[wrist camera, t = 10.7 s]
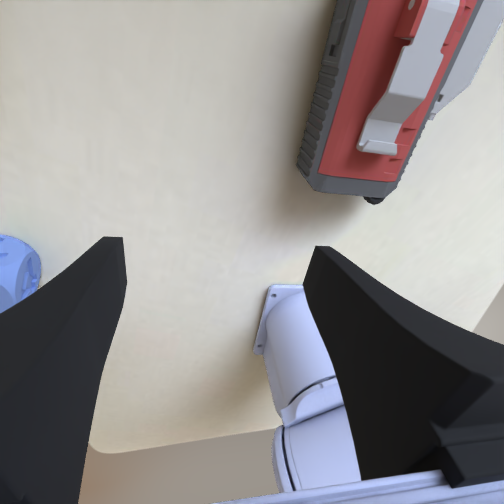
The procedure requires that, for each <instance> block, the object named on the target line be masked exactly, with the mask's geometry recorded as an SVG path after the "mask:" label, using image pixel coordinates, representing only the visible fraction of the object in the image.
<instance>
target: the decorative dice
mask: <svg viewBox="0 0 504 504" xmlns="http://www.w3.org/2000/svg"><path fill="white" fill-rule="evenodd" d="M40 273H41V264H40V258H39V256H38V254H37V253H36V252H35V250H34V249H32V248H31V247H30V246H29V245H27V244H26V243H24V242H23V241H20V240H18V239H16V238H13V237H10V236H5V235H0V313H2V312H4V311H5V310H7V309H9V308H10V307H12V306H14V305H15V304H17V303H18V302H20V301H22V300H23V299H25V298H26V297H28V296H29V295H31V294H33V293H34V292H35V291H37V288H38V284H39V280H40Z"/></svg>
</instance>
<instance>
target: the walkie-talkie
mask: <svg viewBox="0 0 504 504" xmlns="http://www.w3.org/2000/svg"><path fill="white" fill-rule="evenodd" d="M503 20H504V0H337V3H336V7H335V11H334V15H333V19H332V23H331V27H330V31H329V35H328V39H327V43H326V47H325V51H324V55H323V59H322V63H321V64H322V68H321V71H320V72H319V80H318V82H317V83H316V86H317V87H316V91H315V92H314V95H313V96H314V99H313V102H312V103H311V106H312V107H311V111H310V112H309V114H308V115H309V119H308V121H307V122H306V124H307V127H306V130H304V133H305V135H304V138H303V139H302V142H303V143H302V147H300V154H299V155H298V162H297V163H296V166H297V167H298V169H299V171H300V172H301V174H302V175H303V177H304V178H305V179H306V181H307V182H308V183H309V184H310V186H311V187H312V188H313V190H315V191H319V192H324V193H334V194H345V195H356V196H363V197H364V199H365V200H367V202H368V203H371V204H373V205H375V204H379V203H380V202H382V201H383V200H384V199H385V197H386V196H388V195H389V194H390V193H391V192H392V191H393V190H394V189H396V188H397V184H398V182H399V181H400V180H401V176H402V174H403V173H404V169H405V167H406V165H408V161H409V158H410V157H411V156H412V152H413V150H414V148H415V147H416V143H417V141H418V139H420V137H421V136H420V135H421V133H422V130H423V129H424V128H425V124H426V122H427V120H433V119H434V117H435V115H436V113H438V112H439V111H440V110H441V109H442V108H443V107H445V106H446V105H447V104H448V103H449V102H451V101H452V100H453V99H454V98H455V97H456V96H458V95H459V94H460V93H461V92H462V91H463V90H465V89H466V88H467V87H468V86H469V85H470V84H471V82H472V80H473V78H474V76H475V75H476V73H477V71H478V69H479V67H480V65H481V63H482V61H483V59H484V57H485V55H486V53H487V51H488V49H489V47H490V45H491V43H492V41H493V39H494V37H495V35H496V33H497V31H498V29H499V28H500V26H501V24H502V22H503Z"/></svg>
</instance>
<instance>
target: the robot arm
mask: <svg viewBox="0 0 504 504" xmlns="http://www.w3.org/2000/svg"><path fill="white" fill-rule="evenodd" d="M126 286H127V276H126V266H125V256H124V246H123V237H102V238H101V239H100V240H99V241H98V242H96V243H95V244H94V245H93V246H92V247H91V248H90V249H88V250H87V251H86V252H85V253H84V254H83V255H82V256H80V257H79V258H78V259H77V260H76V261H75V262H73V263H72V264H71V265H70V266H69V267H67V268H66V269H65V270H64V271H63V272H61V273H60V274H59V275H57V276H56V277H55V278H53V279H52V280H51V281H49V282H48V283H47V284H45V285H44V286H43V287H41V288H40V289H38V290H37V291H35V292H34V293H33V294H31V295H29V296H28V297H26V298H25V299H23V300H22V301H20V302H18V303H17V304H15V305H14V306H12V307H10V308H9V309H7V310H5V311H4V312H2V313H0V504H78V499H79V494H80V487H81V481H82V475H83V469H84V464H85V458H86V452H87V447H88V441H89V435H90V430H91V425H92V420H93V415H94V409H95V404H96V399H97V395H98V390H99V385H100V380H101V376H102V372H103V368H104V365H105V361H106V358H107V355H108V352H109V349H110V346H111V343H112V339H113V336H114V333H115V330H116V327H117V324H118V321H119V318H120V314H121V311H122V308H123V303H124V298H125V292H126ZM272 294H274V295H272ZM253 352H254V354H256V355H263V357H264V361H265V366H266V370H267V375H268V379H269V384H270V388H271V393H272V397H273V402H274V405H275V408H276V411H277V413H278V414H279V416H280V417H281V419H282V421H283V425H281V426H278V427H277V428H276V430H275V433H274V438H273V442H272V448H271V449H272V450H271V453H272V463H273V469H274V474H275V479H276V483H277V486H278V489H279V493H278V494H271V495H264V496H258V497H251V498H245V499H238V500H231V501H224V502H217V503H210V504H504V345H503V344H500V343H497V342H494V341H492V340H489V339H487V338H484V337H482V336H480V335H477V334H475V333H472V332H470V331H467V330H465V329H463V328H461V327H459V326H456V325H454V324H452V323H450V322H448V321H446V320H444V319H442V318H440V317H438V316H436V315H434V314H432V313H430V312H428V311H426V310H424V309H422V308H420V307H419V306H417V305H415V304H413V303H412V302H410V301H408V300H407V299H405V298H403V297H402V296H400V295H398V294H397V293H395V292H394V291H392V290H391V289H389V288H388V287H386V286H385V285H383V284H382V283H380V282H379V281H377V280H376V279H374V278H373V277H372V276H370V275H369V274H368V273H366V272H365V271H363V270H362V269H361V268H359V267H358V266H357V265H355V264H354V263H353V262H351V261H350V260H349V259H347V258H346V257H345V256H343V255H342V254H340V253H339V252H338V251H336V250H335V249H333V248H331V247H330V246H315V249H314V252H313V255H312V258H311V261H310V264H309V267H308V270H307V273H306V276H305V279H304V282H303V285H272V286H270V287H269V289H268V293H267V297H266V301H265V304H264V308H263V312H262V316H261V320H260V324H259V328H258V332H257V336H256V340H255V344H254V348H253Z"/></svg>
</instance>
